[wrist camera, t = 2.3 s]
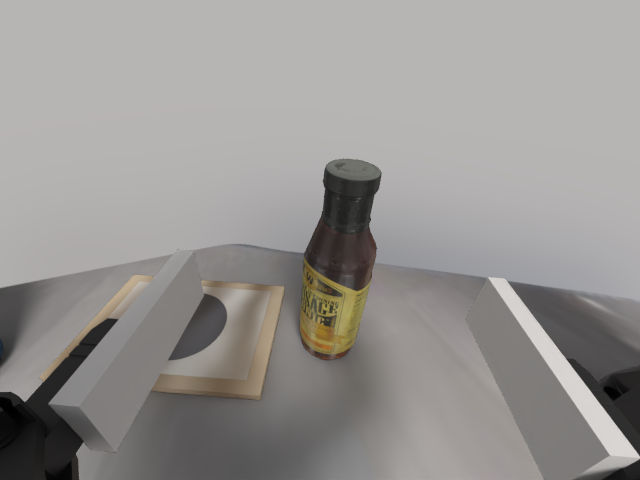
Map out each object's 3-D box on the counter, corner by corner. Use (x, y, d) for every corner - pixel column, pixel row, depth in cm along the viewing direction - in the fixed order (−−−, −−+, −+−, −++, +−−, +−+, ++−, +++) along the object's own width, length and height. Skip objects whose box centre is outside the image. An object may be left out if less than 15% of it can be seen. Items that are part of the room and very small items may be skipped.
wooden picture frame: (284, 290, 37) (284, 285, 36) (260, 400, 25) (259, 394, 25) (135, 279, 37) (133, 273, 37) (43, 382, 25) (38, 376, 25)
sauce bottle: (289, 331, 32) (287, 157, 20) (333, 309, 35) (351, 147, 24) (322, 378, 27) (342, 190, 16) (369, 348, 30) (412, 172, 19)
